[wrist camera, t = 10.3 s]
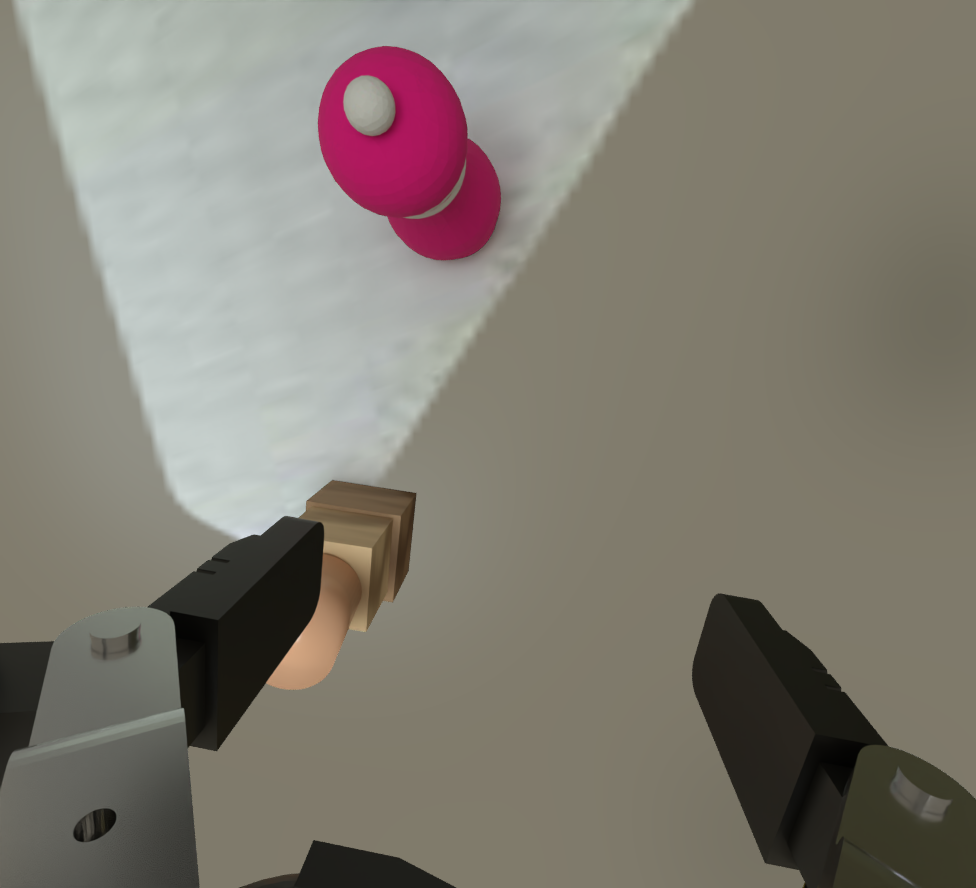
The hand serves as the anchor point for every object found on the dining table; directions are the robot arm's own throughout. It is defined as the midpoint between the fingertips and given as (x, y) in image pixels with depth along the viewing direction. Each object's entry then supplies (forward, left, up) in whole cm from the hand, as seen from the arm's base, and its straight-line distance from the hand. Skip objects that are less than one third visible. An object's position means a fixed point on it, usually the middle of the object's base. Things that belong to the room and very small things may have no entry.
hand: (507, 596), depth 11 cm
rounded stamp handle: (+13, -11, -19) cm, 26 cm away
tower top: (+13, -11, -25) cm, 30 cm away
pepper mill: (-12, -7, -30) cm, 33 cm away
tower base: (+13, -11, -30) cm, 34 cm away
